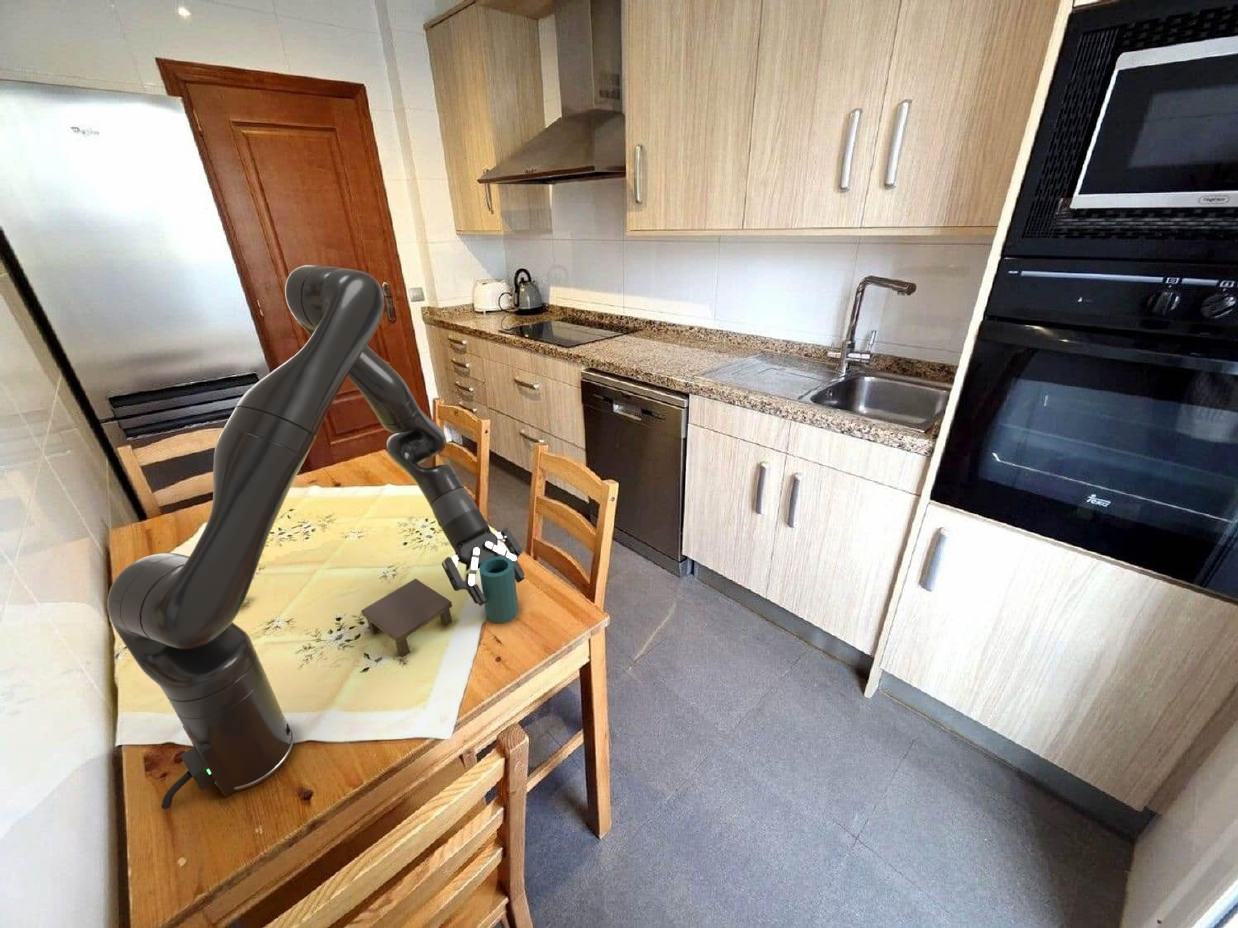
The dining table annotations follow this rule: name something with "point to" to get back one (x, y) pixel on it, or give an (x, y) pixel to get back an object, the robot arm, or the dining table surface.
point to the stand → (407, 612)
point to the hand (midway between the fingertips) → (503, 592)
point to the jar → (499, 589)
